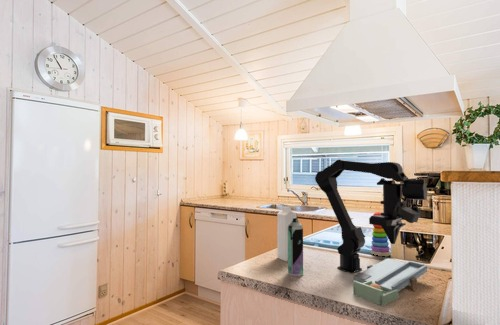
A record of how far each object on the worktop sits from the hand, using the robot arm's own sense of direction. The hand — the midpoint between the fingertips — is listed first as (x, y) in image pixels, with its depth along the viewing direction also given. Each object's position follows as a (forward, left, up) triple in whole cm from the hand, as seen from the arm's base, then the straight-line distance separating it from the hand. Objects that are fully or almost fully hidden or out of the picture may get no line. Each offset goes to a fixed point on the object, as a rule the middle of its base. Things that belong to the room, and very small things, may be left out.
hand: (392, 243), depth 103 cm
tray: (+5, -18, -12) cm, 22 cm away
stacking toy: (-20, +24, -12) cm, 34 cm away
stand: (+1, -3, -12) cm, 13 cm away
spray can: (-23, -24, -12) cm, 35 cm away
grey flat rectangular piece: (+1, -3, -9) cm, 10 cm away
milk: (-39, -14, -12) cm, 43 cm away
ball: (+5, -18, -10) cm, 21 cm away
